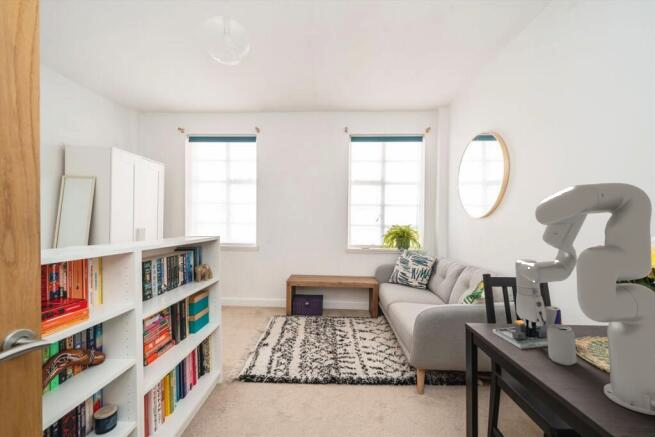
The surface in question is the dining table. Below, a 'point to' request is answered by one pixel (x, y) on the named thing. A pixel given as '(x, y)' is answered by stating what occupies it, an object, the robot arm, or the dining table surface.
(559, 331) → the can
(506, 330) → the panel
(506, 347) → the dining table surface
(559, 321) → the energy drink
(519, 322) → the handle
